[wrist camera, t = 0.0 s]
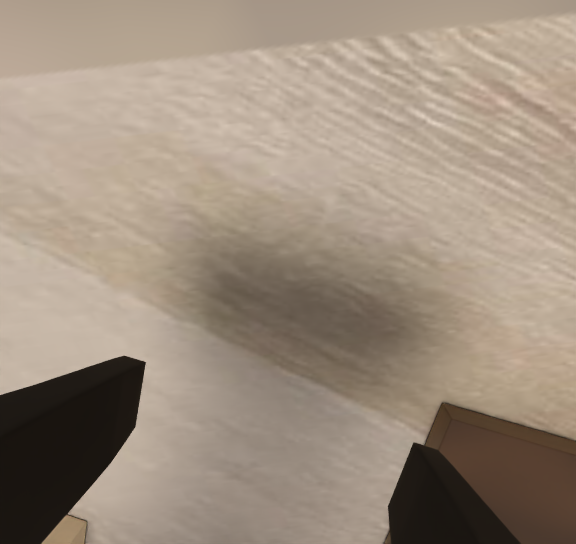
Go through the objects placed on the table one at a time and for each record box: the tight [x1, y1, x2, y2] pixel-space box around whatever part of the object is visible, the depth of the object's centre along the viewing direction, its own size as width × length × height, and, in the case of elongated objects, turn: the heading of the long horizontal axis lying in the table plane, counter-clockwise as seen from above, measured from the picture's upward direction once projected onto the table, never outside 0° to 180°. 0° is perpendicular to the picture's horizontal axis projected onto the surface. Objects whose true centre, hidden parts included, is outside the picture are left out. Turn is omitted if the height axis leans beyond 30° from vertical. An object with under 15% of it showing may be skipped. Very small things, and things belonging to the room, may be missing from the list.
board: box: [385, 403, 576, 544], centre depth 19 cm, size 12×13×2 cm
